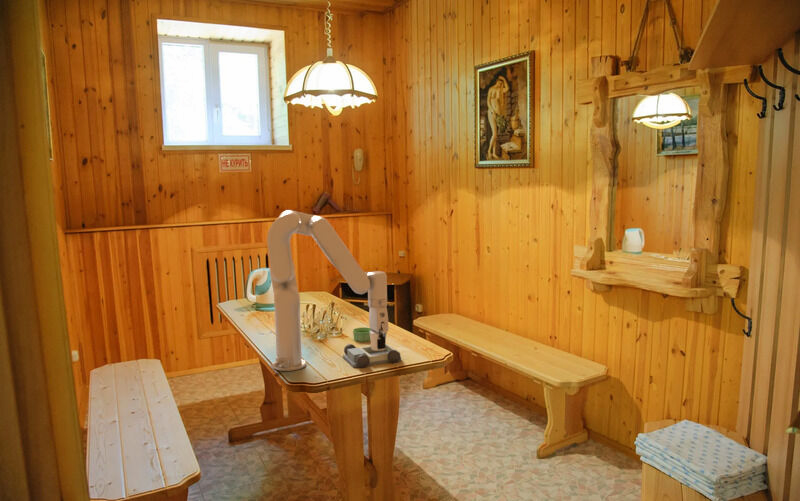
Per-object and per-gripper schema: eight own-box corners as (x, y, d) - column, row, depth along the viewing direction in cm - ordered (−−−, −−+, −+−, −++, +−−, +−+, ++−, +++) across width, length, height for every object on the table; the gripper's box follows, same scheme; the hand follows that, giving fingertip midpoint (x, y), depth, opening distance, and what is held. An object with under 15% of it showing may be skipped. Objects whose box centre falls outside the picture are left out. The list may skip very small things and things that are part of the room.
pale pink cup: (384, 351, 219) (384, 334, 218) (367, 350, 221) (367, 333, 220) (388, 346, 226) (388, 329, 225) (372, 345, 227) (371, 328, 226)
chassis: (355, 369, 211) (354, 357, 210) (341, 356, 226) (341, 345, 225) (403, 361, 219) (402, 349, 218) (386, 349, 234) (386, 338, 233)
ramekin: (359, 343, 244) (359, 333, 243) (349, 338, 251) (348, 329, 251) (376, 339, 249) (376, 330, 249) (365, 335, 256) (365, 326, 256)
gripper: (394, 306, 214) (395, 351, 217) (378, 297, 230) (378, 339, 232) (376, 308, 211) (377, 353, 214) (361, 299, 227) (362, 341, 229)
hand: (378, 345), depth 223 cm, fingers closed on pale pink cup, 6 cm apart
